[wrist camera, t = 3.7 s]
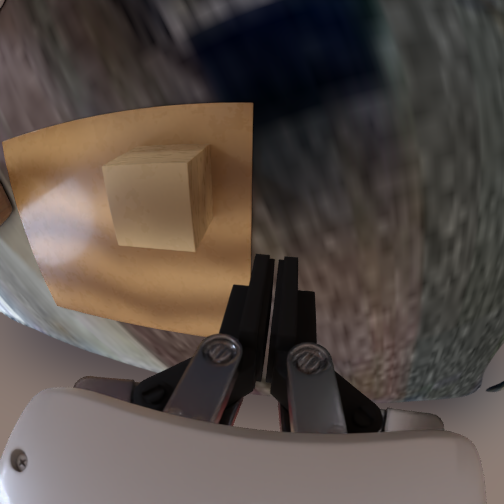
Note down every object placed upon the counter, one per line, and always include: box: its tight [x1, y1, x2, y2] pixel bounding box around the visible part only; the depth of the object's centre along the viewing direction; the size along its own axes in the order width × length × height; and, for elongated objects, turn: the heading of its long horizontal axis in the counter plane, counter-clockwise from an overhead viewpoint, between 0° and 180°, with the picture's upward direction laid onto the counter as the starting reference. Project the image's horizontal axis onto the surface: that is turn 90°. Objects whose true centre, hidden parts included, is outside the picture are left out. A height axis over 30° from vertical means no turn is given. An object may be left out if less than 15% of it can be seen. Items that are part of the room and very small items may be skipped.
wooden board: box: [2, 103, 253, 337], centre depth 25 cm, size 24×28×1 cm
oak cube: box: [102, 144, 213, 252], centre depth 19 cm, size 6×6×5 cm
